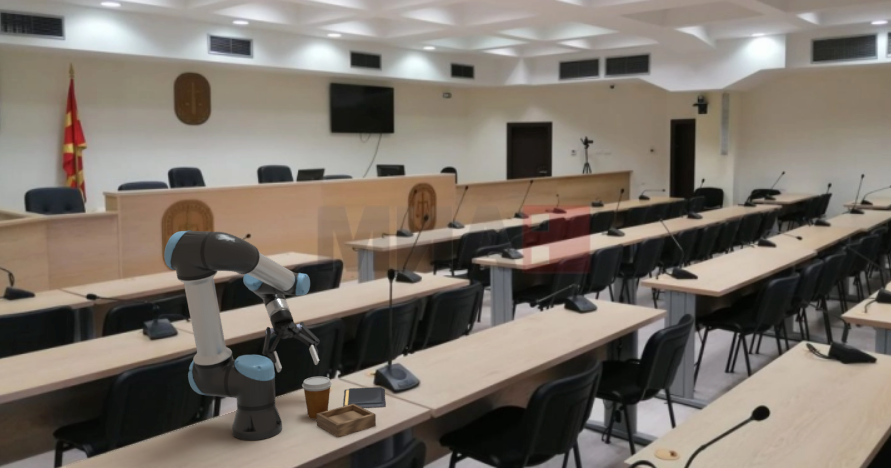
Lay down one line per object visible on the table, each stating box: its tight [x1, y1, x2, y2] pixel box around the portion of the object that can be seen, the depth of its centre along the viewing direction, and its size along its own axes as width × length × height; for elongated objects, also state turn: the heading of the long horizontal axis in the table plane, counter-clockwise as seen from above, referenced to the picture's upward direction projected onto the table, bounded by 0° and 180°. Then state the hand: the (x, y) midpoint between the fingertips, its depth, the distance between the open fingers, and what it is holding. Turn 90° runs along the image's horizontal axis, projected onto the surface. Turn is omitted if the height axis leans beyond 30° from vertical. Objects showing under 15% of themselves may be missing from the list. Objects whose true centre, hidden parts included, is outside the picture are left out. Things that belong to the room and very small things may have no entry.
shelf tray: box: [316, 404, 377, 438], centre depth 230 cm, size 14×13×4 cm
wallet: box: [342, 386, 387, 409], centre depth 255 cm, size 20×2×15 cm
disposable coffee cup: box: [301, 376, 332, 420], centre depth 238 cm, size 10×10×12 cm
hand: (298, 366), depth 244 cm, fingers open, 13 cm apart
